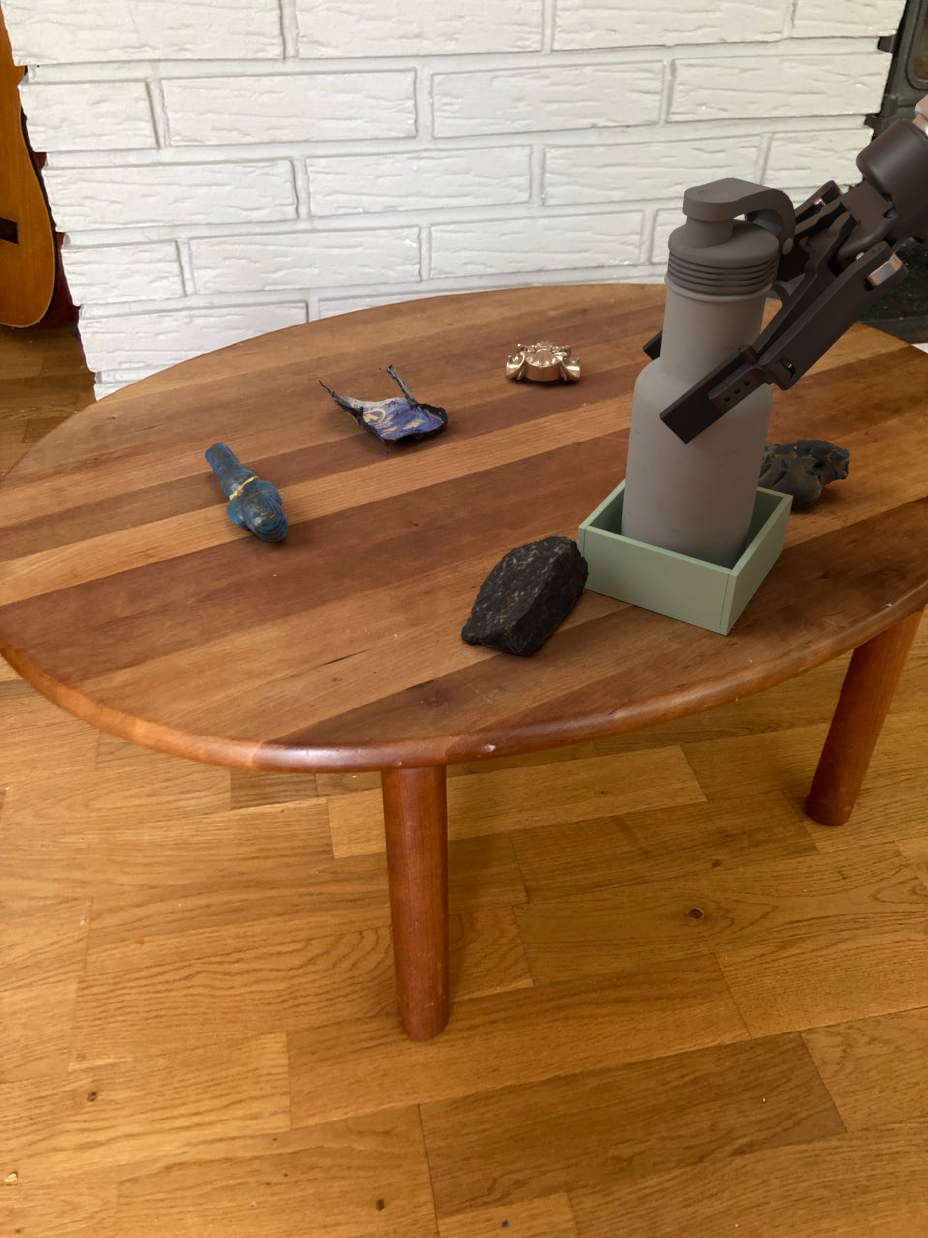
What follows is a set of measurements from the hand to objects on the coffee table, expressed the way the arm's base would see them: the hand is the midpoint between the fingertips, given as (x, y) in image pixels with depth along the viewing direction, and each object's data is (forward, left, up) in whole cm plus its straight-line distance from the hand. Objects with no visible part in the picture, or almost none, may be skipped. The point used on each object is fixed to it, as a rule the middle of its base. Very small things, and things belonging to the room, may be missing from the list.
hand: (662, 393), depth 75 cm
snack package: (+32, -9, -16) cm, 37 cm away
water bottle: (-3, -1, -14) cm, 14 cm away
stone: (-5, -16, -16) cm, 23 cm away
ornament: (+24, -27, -16) cm, 40 cm away
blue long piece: (+34, +10, -16) cm, 39 cm away
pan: (-3, -1, -15) cm, 16 cm away
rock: (+5, +11, -16) cm, 19 cm away
